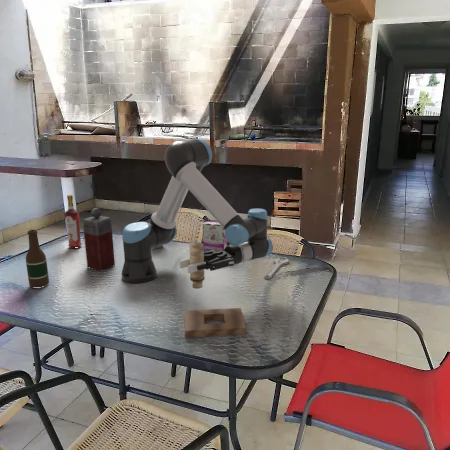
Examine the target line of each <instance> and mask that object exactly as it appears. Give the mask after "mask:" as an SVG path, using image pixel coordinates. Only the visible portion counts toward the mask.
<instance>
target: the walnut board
mask: <svg viewBox="0 0 450 450" xmlns="http://www.w3.org/2000/svg"><path fill="white" fill-rule="evenodd" d="M242 311H243V310H242V308H241V307H235V308H234V307H233V308H215V309H214V308H212V309H211V308H210V309H194V310H193V309H191V310H184V338H203V337H204V338H205V337H222V336H223V337H225V336H241V335H242V336H244V335H245V336H246V335H247V325H246V322H245V318H244V315H243V312H242ZM208 321H223V322H222V323H208V324H207V323H206V324H205V322H208Z"/></svg>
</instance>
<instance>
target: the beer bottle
mask: <svg viewBox="0 0 450 450" xmlns="http://www.w3.org/2000/svg"><path fill="white" fill-rule="evenodd" d="M27 235H28V251H27V253H26V255H25V264H26V265H25V266H26V271H27V278H28V279H27V280H28V285H29V287H30V286H31V287H42V286H45V285H47V284H48V283H49V284H50V278H49V270H48V264H47V263H48V261H47V257H46V254H45V252H44V251H43V250H42V249H41V246H40V242H39V238H38V237H39V236H38V231H37V230H36V229H30V230H28V231H27ZM49 284H48V285H49ZM48 285H47V286H48ZM31 287H30V288H31Z"/></svg>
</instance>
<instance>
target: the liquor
mask: <svg viewBox="0 0 450 450" xmlns="http://www.w3.org/2000/svg"><path fill="white" fill-rule="evenodd" d="M66 199H67V210H66V211H65V212H64V213H63V216H64V220H65V226H66V227H65V228H66V233H67V239H68V245H67V247H69V248H70V247H71V248H70V249H73V248H75V247H79V248H81V246H82V244H83V243H82V241H81V239H82V238H81V224H80V220H81V219H80V211H78V210H77V209H75V207H74V198H73V194H68V195H66Z"/></svg>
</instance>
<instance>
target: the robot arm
mask: <svg viewBox="0 0 450 450" xmlns="http://www.w3.org/2000/svg"><path fill="white" fill-rule="evenodd" d="M212 159H213V151H212V148H211V146H210V144H209V143H208V142H207V141H206V140H204V139H202V138H192V139H186V140H185V139H184V140H177V141H173V142H172V143H171V144H169V145H168V146H167V148H166V150H165V153H164V163H165V166H166V167H167V171H168V172H169V174H171V175H172V176H171V179H170V180H169V183H168V185H167V188H166V189H165V192H164V194H163V197H162V200H161V202H160V203H159V206H158V209H157V211H154V212H152V214H151V216H150V219H149V220H148V222H146V221H137V222H132V223H129V224H127V225H125V226H124V228H123V229H122V242H123V244H122V245H123V255H124V256H123V257H124V262H123V263H124V264H123V265H122V269H121V279H122V280H123V282H125V283H130V284H142V283H147V282H151V281H153V280H156V278H157V275H158V273H157V270H158V269H157V268H156V265H155V264H154V263H155V262H154V261H153V256H152V255H153V254H152V250H154V249H158V248H157V247H159V246H162V245H163V246H164V245H167V244H168V243H170V242H172V241H173V240H174V239H175V238H176V236H177V231H178V229H177V222H176V219H177V215H178V213H179V211H180V209H181V207H182V205H183V202H184V200H185V198H186V196H187V193H188V192H190V193H192V195H193V196H194V197H195V198H196V200H197V201H198V202H199V203H200V204H201V205H202V206H203V208H204V209H206V211H207V212H208V213H209V214H210V215H211V217H213V219H214V220H215V221H216V222H218V223H219V224H220V225H221V226H222V227H223V228H224V229H225V237H226V240H227V243H229V244H230V245H227V246H226V247H225V249H224V251H218V252H215V249H212V250H210V251H206V252H204V262H199V263H196V264H192V265H190V257H189V258H186V259H182V260H179V269H184V268H187V274H190V273H193V272H196V271H200V270H204V271H205V270H206V271H207V270H209V272H210V271H211V272H212V271H216V270H219V269H224V268H228V267H234V266H235V265H238V264H240V263H243V264H244V263H246V262H249V261H253V260H257V259H262V258H264V257H267V256H270V255H271V254H272V253H273V249H274V245H273V241H272V240H271V238H269V237H268V221H269V220H268V211H267V210H266V209H264V208H250V209H248V211H247V215H246V216H247V218H243V217H242V216H240V214H239V213H238V212H237V211H236V210H235V209H234V207H232V205H230V203H229V202H228V201H227V200H226V199H225V198H224V196H222V194H221V193H220V192H218V190H217V189H216V188H215V186H213V185H212V183H210V182H209V180H208V179H207V178H206V177H205V176H204V175H203V174H202V170H203V168H204V167H207V166H208V165H210V163H211V162H212ZM163 246H162V247H163Z"/></svg>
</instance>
